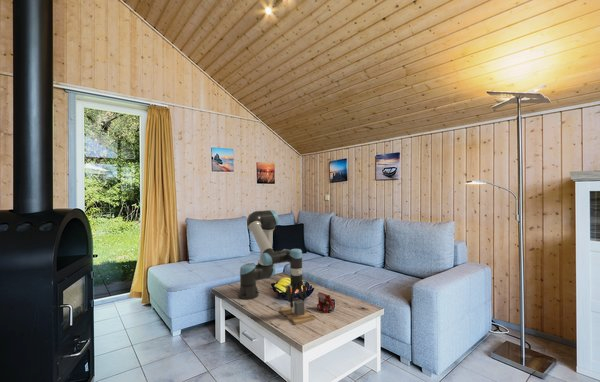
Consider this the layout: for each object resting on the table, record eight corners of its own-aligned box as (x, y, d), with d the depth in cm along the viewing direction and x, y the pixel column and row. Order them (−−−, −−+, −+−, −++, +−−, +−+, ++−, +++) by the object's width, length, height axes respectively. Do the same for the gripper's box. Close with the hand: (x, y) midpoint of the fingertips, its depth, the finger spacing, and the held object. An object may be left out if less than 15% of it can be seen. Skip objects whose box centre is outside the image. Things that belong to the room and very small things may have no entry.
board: (280, 311, 189) (280, 309, 189) (298, 307, 195) (298, 304, 195) (295, 324, 170) (295, 322, 170) (314, 319, 176) (314, 317, 176)
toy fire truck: (329, 314, 183) (328, 298, 183) (315, 308, 192) (314, 293, 192) (336, 311, 188) (335, 295, 188) (322, 305, 197) (321, 290, 197)
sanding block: (290, 311, 185) (290, 299, 185) (297, 310, 187) (297, 297, 187) (297, 317, 177) (296, 303, 177) (304, 315, 179) (304, 302, 179)
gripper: (285, 278, 174) (286, 316, 175) (311, 273, 183) (312, 310, 183) (280, 274, 181) (281, 312, 181) (306, 270, 189) (306, 306, 190)
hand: (297, 311), depth 182 cm, fingers closed on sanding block, 5 cm apart
